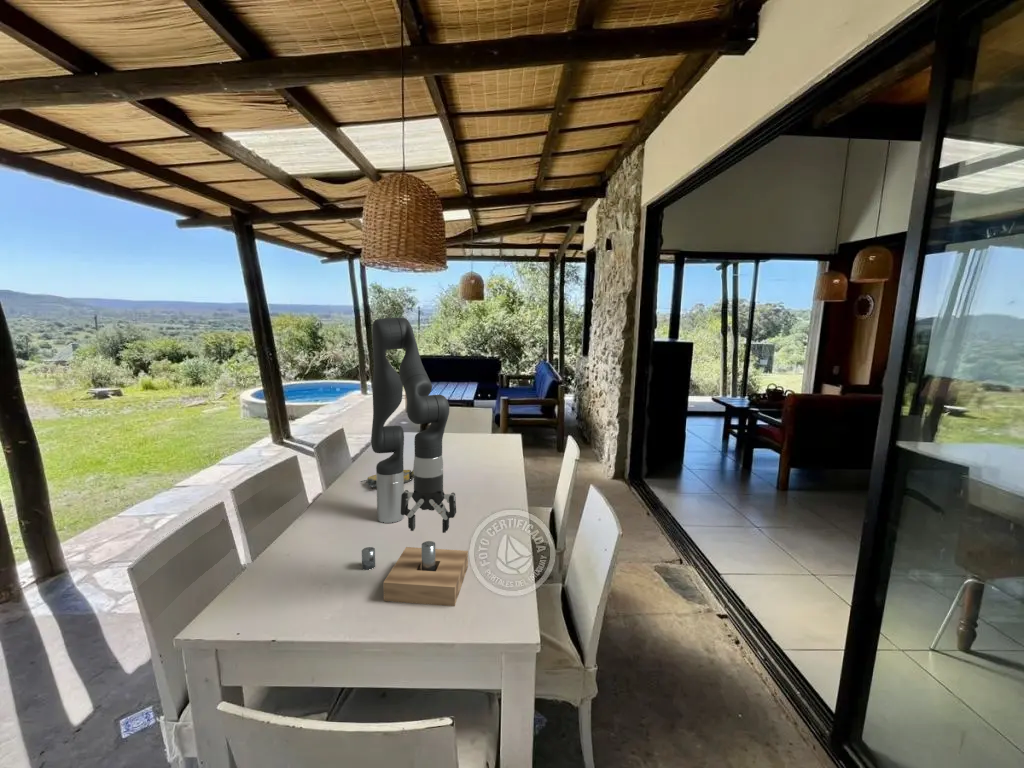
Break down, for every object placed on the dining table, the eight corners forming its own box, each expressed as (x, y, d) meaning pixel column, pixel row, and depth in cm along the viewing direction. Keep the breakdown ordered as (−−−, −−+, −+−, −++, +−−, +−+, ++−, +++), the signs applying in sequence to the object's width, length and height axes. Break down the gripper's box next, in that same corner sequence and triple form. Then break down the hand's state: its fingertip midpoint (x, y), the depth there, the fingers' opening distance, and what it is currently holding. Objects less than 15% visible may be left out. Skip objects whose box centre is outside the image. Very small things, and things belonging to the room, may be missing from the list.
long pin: (423, 578, 122) (423, 540, 121) (436, 579, 122) (436, 541, 121) (420, 586, 119) (419, 547, 117) (433, 587, 118) (433, 548, 117)
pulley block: (436, 466, 198) (368, 478, 181) (437, 479, 198) (369, 493, 181) (423, 462, 210) (358, 474, 192) (424, 475, 210) (359, 487, 193)
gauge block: (406, 563, 130) (406, 547, 129) (467, 567, 129) (468, 550, 128) (383, 601, 112) (383, 582, 112) (454, 606, 111) (454, 587, 110)
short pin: (365, 563, 130) (364, 546, 129) (377, 563, 129) (376, 547, 129) (359, 569, 126) (359, 553, 126) (372, 570, 126) (372, 553, 125)
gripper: (458, 468, 119) (458, 525, 122) (406, 465, 120) (406, 522, 123) (452, 478, 112) (452, 539, 114) (396, 475, 113) (397, 535, 115)
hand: (428, 530), depth 119 cm, fingers open, 8 cm apart
